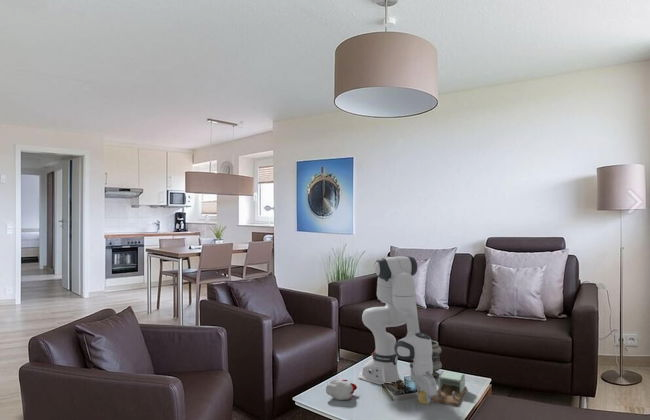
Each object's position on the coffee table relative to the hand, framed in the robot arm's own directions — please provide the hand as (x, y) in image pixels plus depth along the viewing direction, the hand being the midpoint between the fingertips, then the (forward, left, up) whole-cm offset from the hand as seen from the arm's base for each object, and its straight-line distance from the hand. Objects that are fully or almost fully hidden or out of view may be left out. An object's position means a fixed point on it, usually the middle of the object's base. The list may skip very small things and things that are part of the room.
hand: (423, 398), depth 199 cm
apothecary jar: (-6, +35, -2) cm, 36 cm away
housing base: (+9, +13, -2) cm, 16 cm away
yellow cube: (0, 0, -2) cm, 2 cm away
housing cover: (+9, +18, 0) cm, 21 cm away
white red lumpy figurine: (-36, -13, -2) cm, 38 cm away
